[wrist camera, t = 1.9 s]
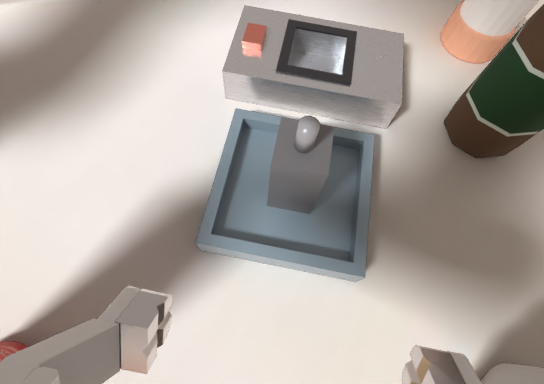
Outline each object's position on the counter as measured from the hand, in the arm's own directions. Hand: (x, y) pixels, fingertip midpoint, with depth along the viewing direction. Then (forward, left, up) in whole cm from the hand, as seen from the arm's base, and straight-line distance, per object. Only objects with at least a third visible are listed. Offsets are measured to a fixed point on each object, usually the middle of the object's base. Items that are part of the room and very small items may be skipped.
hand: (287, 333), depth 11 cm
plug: (0, +12, -16) cm, 20 cm away
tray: (0, +12, -17) cm, 21 cm away
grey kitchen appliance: (0, +27, -17) cm, 32 cm away
